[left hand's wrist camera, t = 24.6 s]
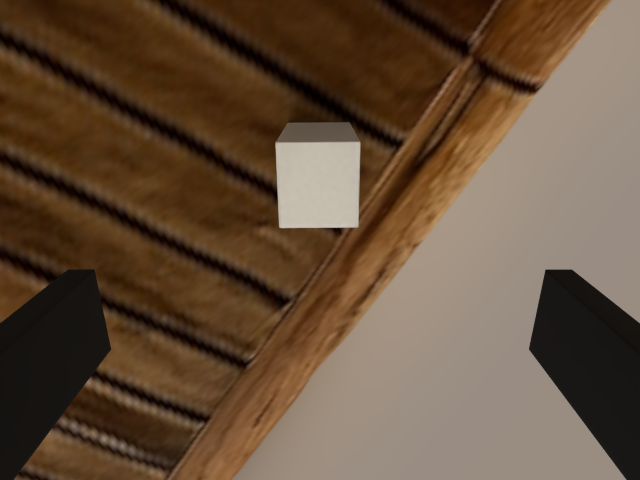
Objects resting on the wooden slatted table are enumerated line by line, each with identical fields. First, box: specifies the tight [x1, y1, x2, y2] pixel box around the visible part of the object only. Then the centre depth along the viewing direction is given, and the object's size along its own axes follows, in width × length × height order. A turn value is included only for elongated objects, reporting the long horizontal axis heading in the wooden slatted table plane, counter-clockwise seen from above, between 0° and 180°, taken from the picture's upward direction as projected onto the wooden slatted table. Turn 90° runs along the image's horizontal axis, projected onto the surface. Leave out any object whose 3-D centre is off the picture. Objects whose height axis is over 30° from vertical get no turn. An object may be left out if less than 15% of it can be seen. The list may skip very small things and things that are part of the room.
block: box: [275, 122, 360, 228], centre depth 31 cm, size 5×5×10 cm
